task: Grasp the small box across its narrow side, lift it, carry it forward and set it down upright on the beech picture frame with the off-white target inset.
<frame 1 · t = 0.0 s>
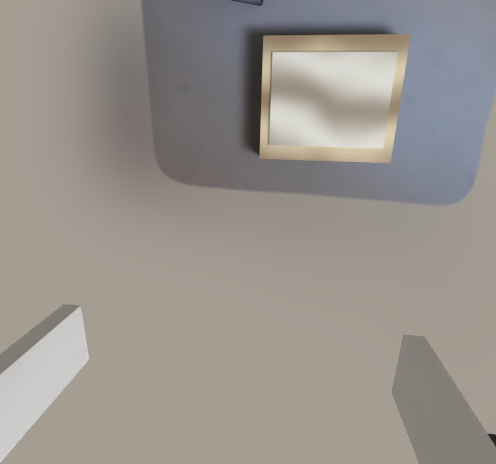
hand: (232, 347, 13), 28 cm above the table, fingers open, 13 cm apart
beech picture frame: (326, 103, 35), on the table
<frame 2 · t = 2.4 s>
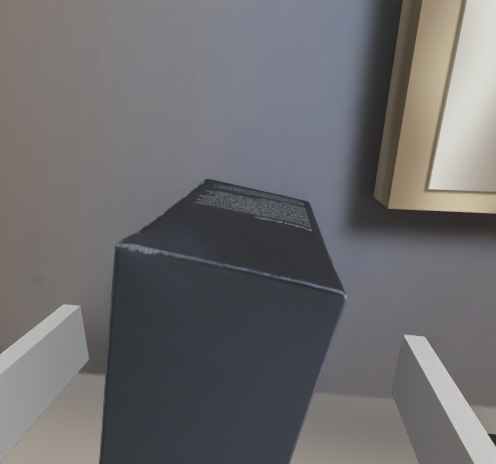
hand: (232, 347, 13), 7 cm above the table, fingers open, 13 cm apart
small box: (241, 271, 19), on the table
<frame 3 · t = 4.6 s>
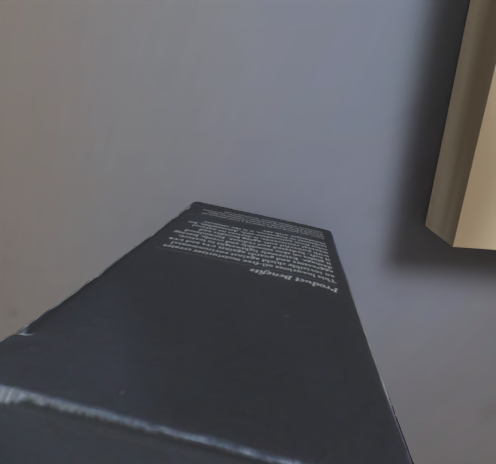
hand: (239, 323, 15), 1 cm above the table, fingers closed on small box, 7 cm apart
small box: (243, 317, 15), on the table, touching gripper
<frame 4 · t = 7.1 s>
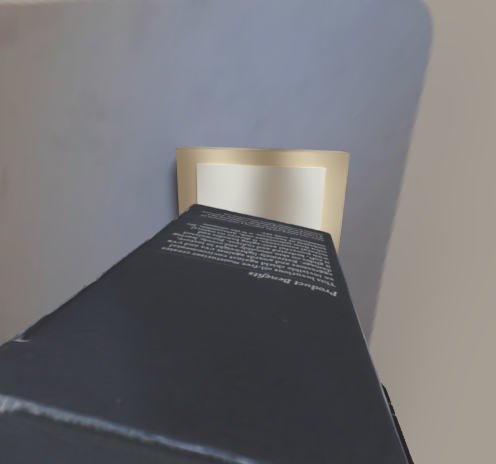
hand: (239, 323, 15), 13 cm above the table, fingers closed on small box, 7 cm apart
small box: (243, 319, 15), point 12 cm above the table, touching gripper
beech picture frame: (260, 235, 27), on the table
when the fingers open (3 cm above the table, at t = 9.5 s): small box stays where it is, resting on beech picture frame.
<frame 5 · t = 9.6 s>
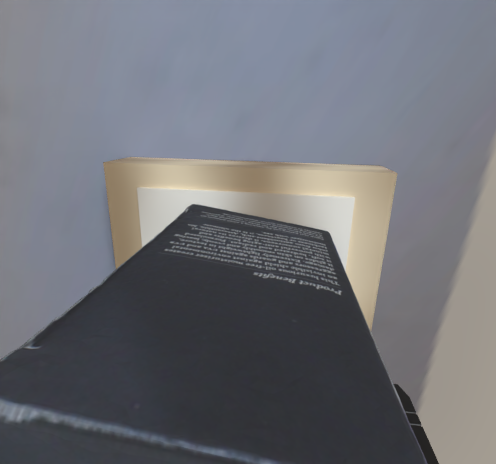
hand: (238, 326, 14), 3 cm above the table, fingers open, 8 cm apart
small box: (242, 318, 15), point 2 cm above the table, touching beech picture frame
beech picture frame: (247, 291, 18), on the table
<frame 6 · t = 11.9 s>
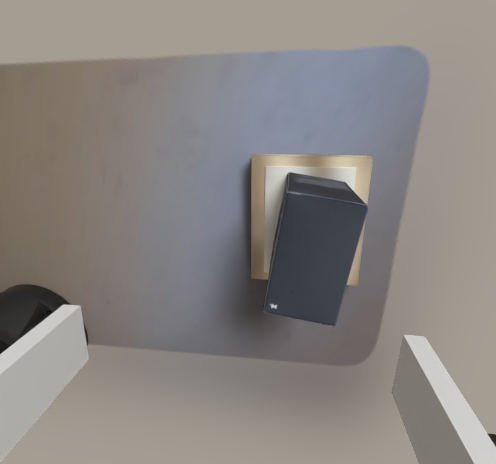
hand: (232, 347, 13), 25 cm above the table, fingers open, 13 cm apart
small box: (307, 224, 34), point 2 cm above the table, touching beech picture frame
beech picture frame: (305, 217, 37), on the table
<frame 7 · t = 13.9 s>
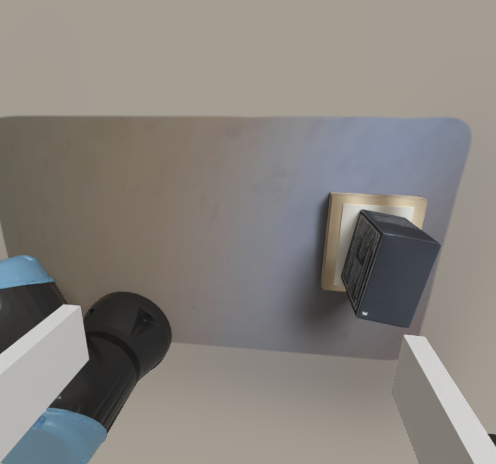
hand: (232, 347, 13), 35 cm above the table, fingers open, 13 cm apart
small box: (372, 248, 44), point 2 cm above the table, touching beech picture frame
beech picture frame: (367, 241, 46), on the table
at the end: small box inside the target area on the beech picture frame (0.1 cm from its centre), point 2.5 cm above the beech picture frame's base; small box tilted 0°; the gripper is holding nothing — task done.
